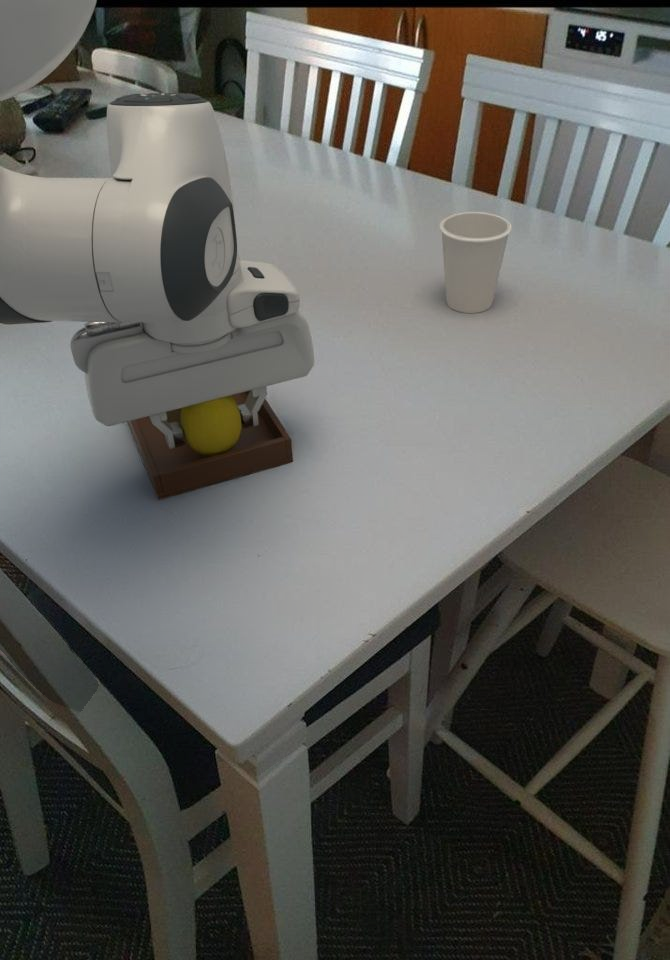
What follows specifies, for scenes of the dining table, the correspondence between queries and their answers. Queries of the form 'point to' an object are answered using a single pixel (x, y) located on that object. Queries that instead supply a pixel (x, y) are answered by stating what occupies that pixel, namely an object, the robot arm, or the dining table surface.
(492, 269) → the dixie cup
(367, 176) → the dining table surface
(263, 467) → the tray
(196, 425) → the lemon
